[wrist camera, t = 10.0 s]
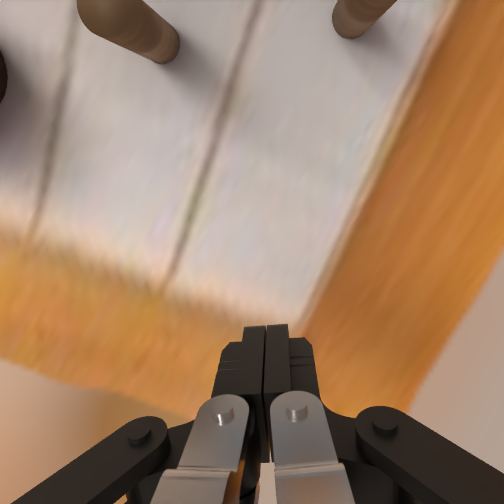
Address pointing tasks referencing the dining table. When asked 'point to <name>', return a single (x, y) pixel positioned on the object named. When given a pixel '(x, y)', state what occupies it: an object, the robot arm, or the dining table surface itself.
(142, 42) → the left post
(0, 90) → the coffee mug
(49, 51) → the dining table surface
